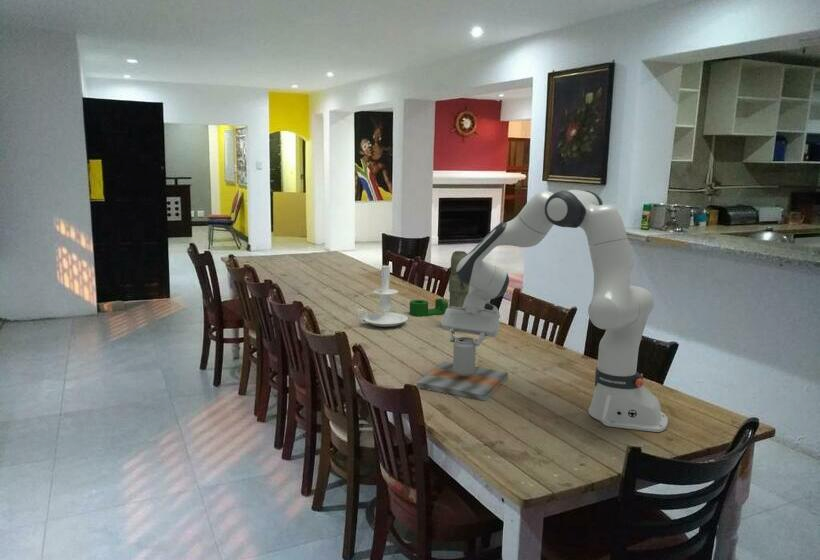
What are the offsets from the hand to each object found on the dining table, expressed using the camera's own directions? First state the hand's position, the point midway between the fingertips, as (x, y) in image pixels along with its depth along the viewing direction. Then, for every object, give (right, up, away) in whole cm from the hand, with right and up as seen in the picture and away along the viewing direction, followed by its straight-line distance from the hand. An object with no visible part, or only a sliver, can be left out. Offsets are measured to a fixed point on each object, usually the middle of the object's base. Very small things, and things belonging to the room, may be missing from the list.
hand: (464, 343), depth 209 cm
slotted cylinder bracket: (-10, +4, +96) cm, 97 cm away
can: (0, -11, +3) cm, 11 cm away
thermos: (+3, -1, +70) cm, 70 cm away
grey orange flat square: (0, -14, +3) cm, 14 cm away
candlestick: (-31, +1, +74) cm, 80 cm away
